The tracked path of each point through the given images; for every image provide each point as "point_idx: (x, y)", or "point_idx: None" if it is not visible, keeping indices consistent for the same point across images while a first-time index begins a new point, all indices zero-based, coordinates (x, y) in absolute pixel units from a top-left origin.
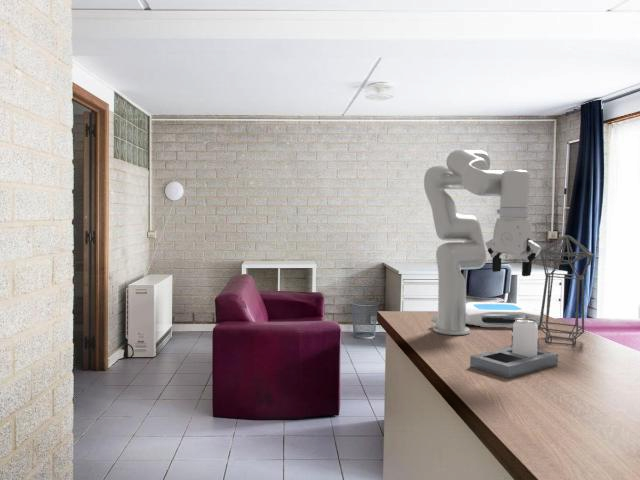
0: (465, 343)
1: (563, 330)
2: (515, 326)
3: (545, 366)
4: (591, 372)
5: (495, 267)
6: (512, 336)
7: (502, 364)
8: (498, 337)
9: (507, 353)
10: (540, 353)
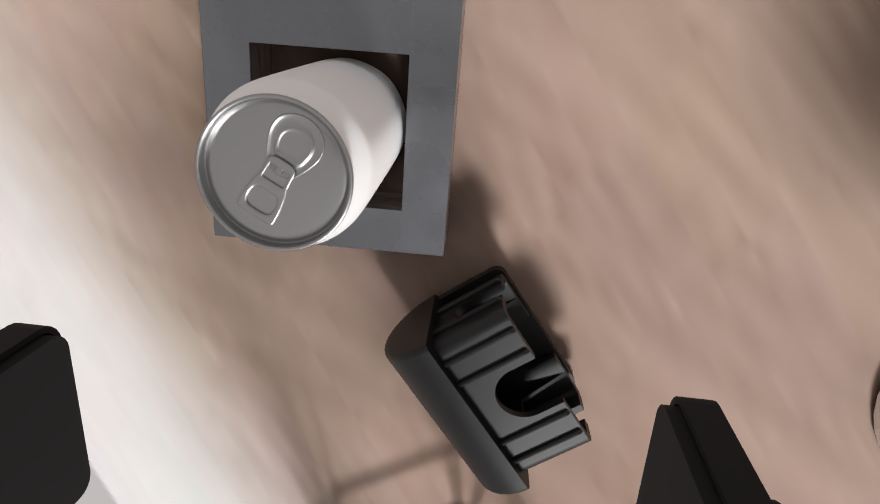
0: (783, 223)
1: None
2: (315, 85)
3: None
4: (88, 217)
5: (675, 470)
6: (577, 405)
7: None
8: None
9: (371, 13)
10: None
